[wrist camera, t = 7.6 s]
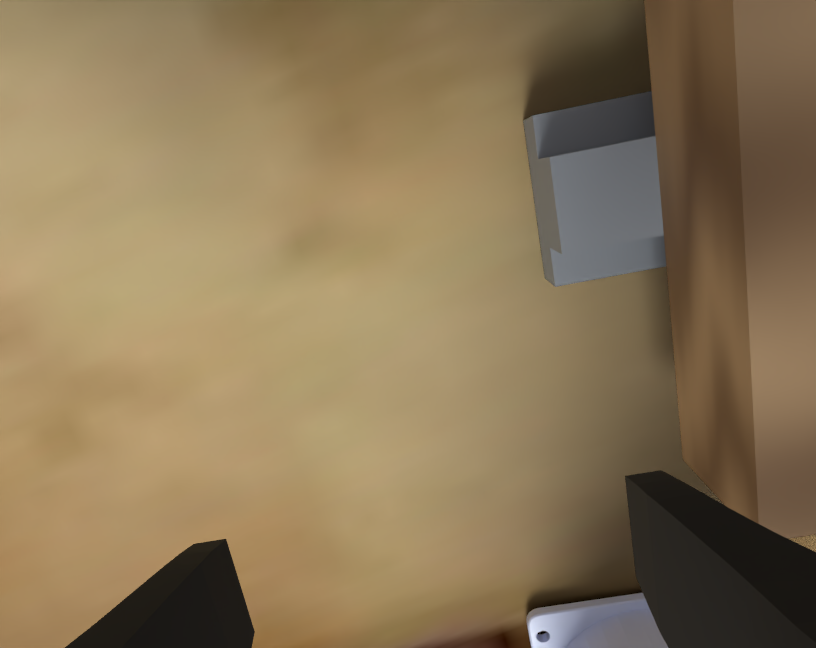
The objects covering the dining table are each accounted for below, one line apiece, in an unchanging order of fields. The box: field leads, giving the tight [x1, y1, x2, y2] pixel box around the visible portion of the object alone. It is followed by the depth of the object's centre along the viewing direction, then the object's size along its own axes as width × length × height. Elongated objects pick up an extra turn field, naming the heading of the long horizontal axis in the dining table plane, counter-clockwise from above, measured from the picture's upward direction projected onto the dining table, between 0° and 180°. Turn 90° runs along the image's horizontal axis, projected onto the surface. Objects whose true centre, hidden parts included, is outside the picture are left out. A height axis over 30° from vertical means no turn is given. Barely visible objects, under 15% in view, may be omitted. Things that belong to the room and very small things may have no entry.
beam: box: [644, 0, 816, 539], centre depth 13 cm, size 16×4×4 cm, turn 11°
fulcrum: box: [523, 91, 666, 287], centre depth 16 cm, size 5×9×3 cm, turn 101°
